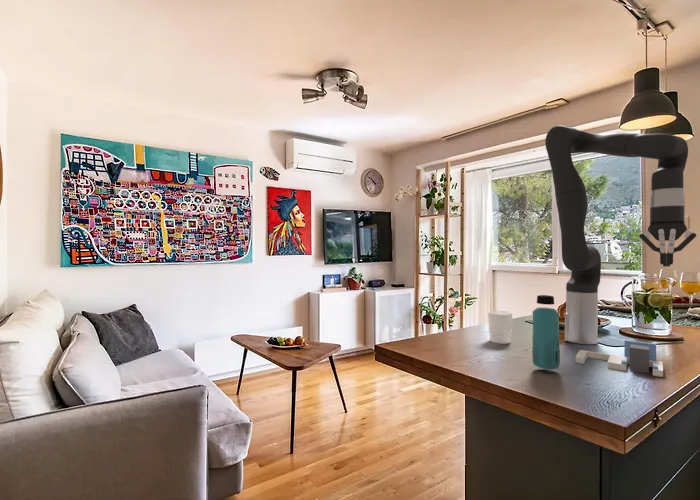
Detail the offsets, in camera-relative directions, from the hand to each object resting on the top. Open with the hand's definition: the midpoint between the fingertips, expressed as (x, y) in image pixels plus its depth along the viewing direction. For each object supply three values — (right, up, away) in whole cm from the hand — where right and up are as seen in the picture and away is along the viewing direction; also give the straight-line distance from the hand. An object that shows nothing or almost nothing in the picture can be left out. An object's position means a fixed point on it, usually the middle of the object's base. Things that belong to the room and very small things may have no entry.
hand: (666, 266), depth 107 cm
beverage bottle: (-39, -28, -8) cm, 48 cm away
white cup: (-39, -27, +22) cm, 52 cm away
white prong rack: (-16, -27, -3) cm, 32 cm away
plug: (-13, -27, -7) cm, 31 cm away
